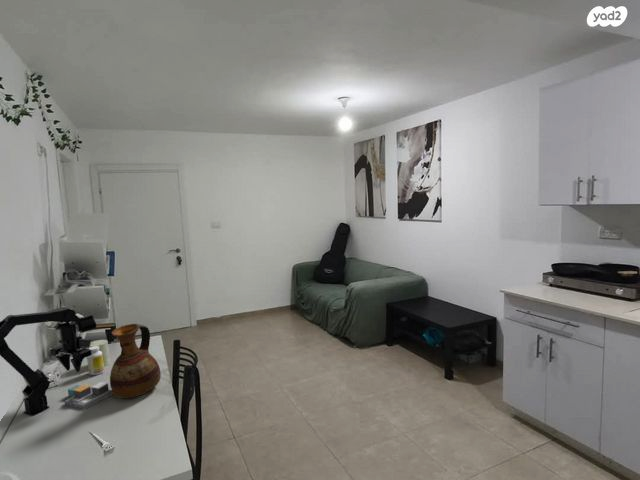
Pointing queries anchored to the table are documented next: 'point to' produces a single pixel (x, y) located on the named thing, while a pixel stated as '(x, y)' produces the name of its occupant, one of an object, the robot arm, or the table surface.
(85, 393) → the block
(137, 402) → the table surface
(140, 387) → the ceramic pitcher
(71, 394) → the teal cube
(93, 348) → the supplement bottle
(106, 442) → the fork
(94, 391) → the block
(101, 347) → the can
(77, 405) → the breaker panel
